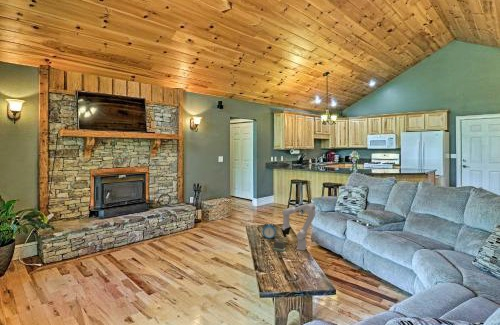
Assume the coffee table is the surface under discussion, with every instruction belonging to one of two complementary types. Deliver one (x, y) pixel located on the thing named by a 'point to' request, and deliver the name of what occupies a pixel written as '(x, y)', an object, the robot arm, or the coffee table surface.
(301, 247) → the robot arm
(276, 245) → the block
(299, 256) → the coffee table surface
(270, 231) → the alarm clock
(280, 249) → the green and cream box
